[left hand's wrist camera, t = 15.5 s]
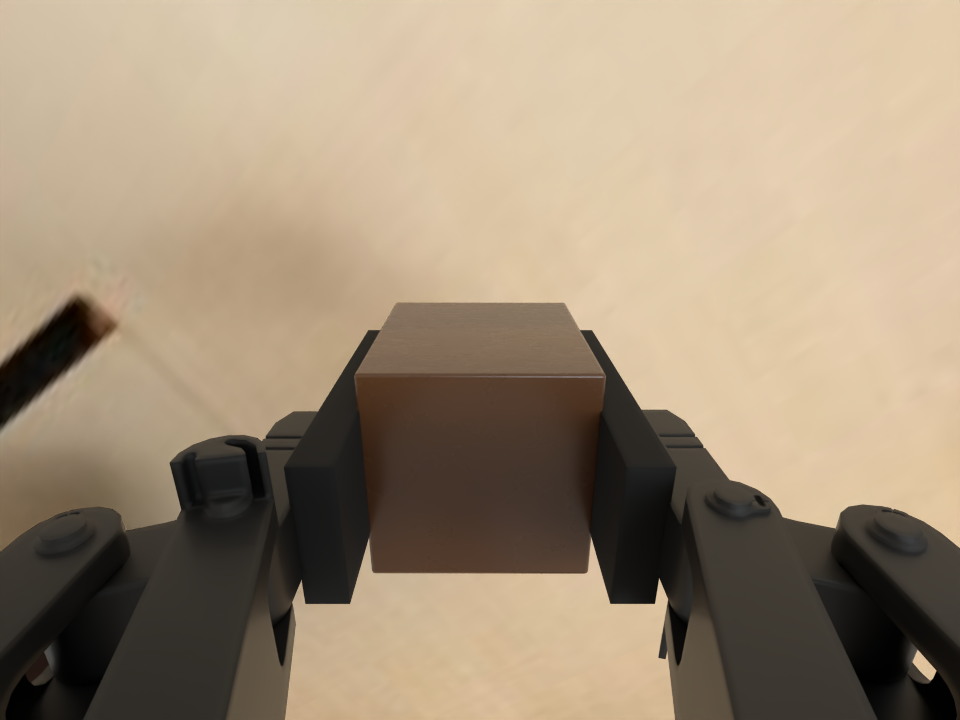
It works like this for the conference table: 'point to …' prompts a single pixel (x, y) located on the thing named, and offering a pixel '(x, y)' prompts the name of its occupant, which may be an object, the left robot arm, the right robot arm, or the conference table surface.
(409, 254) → the conference table surface
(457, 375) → the block
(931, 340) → the conference table surface
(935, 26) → the conference table surface
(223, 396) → the conference table surface
